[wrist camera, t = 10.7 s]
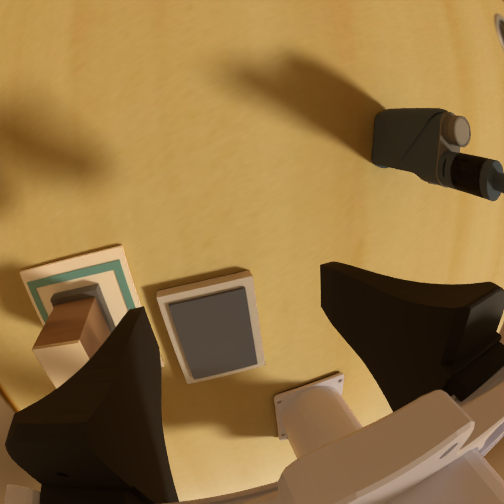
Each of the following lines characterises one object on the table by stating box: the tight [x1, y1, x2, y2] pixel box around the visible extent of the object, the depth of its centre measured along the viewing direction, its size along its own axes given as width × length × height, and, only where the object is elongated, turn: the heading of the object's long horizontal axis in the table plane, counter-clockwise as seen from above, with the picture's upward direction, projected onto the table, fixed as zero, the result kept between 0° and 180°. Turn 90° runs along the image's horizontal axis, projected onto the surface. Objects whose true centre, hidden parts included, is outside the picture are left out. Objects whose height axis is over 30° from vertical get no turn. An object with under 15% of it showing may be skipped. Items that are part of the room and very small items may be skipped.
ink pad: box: [156, 270, 265, 384], centre depth 23 cm, size 9×7×1 cm
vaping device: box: [372, 108, 504, 201], centre depth 16 cm, size 3×5×12 cm, turn 176°
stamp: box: [32, 283, 116, 389], centre depth 17 cm, size 5×4×6 cm
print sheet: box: [19, 245, 164, 367], centre depth 20 cm, size 11×9×1 cm
